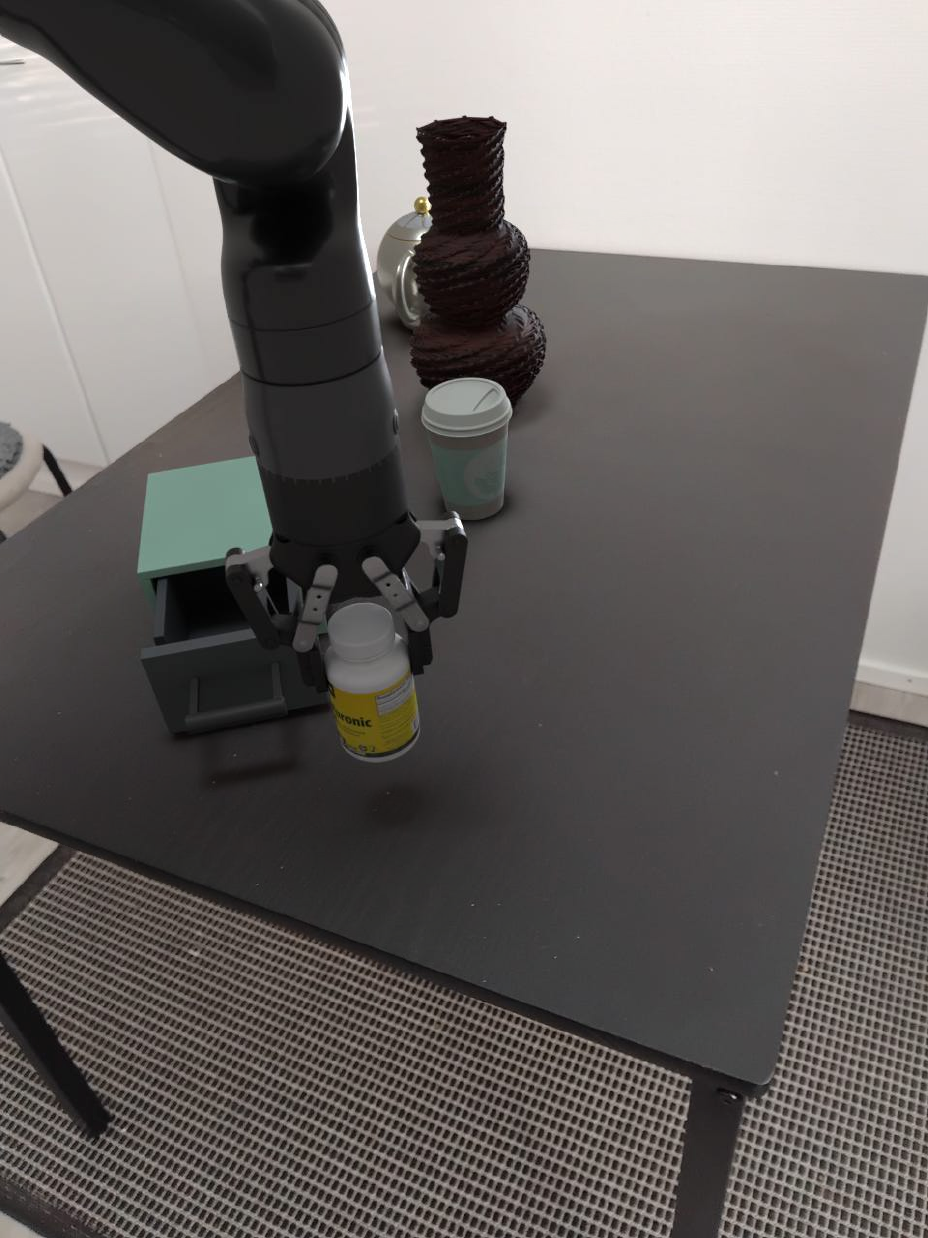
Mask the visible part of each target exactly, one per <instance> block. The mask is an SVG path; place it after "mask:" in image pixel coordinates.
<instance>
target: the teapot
mask: <svg viewBox="0 0 928 1238" xmlns="http://www.w3.org/2000/svg"><path fill="white" fill-rule="evenodd" d="M413 208H414V210H413V211H411V212H408V213H405V214H404V215H402V216H401V217H399V218H398V219H396V220H395V221H394V222H393V223H392V224H390V226H389V227H388V228H387V230H386V231H385V232H384V234H383V236H382V238H381V240H380V242H379V245H378V249H377V254H376V262H375V263H376V274H377V279H378V282H379V284H380V287H381V290H382V291H383V293H384V295H385V296H386V297H387V299H388V300H389V301H390V303H391V304H392V305H393V306H394V307H395V311H396V312H397V316H398V317H399V318H400V319H401V322H402V324H403V326H405V327H406V328H407V329H408V330H411V331H413V329H415V328H416V327H418V326H419V324H420V319H421V318H422V317H423V316H424V315H428V314H429V313H432V312H430V311H429V310H428V309H430V305H429V304H426V303H425V302H424V299H425V297H424V296H423V295H422V294H419V292H418V288H420V287H421V285H420V284H418V283H416V281H415V279H416V278H417V275H416V274H415V273H414V272H413V271H412V270H413V269H412V268H414V266H417V264H416V263H415V262H413V261H412V257H413V256H414V255H415V250H414V246H415V245H418V244H419V243H420V242H421V238H420V237H421V235H422V234H423V233H426V232H428V230H429V229H430V227H431V226H432V225H433V224H432V221H431V220H432V219H433V218H432V216H431V215H430V214H429V210H430V209H431V204H430V203H429V202H428V197H425V196H418V197H417V198H416V199H415V200H414V203H413ZM439 229H440V228H439ZM428 318H429V317H428Z"/></svg>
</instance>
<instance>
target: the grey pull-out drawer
mask: <svg viewBox="0 0 928 1238" xmlns="http://www.w3.org/2000/svg"><path fill="white" fill-rule="evenodd" d="M297 587H298V585H297V584H295V583H294V582H293V581H291V580H290V579H289V578H287V577H286V576H285V575H283V574H282V573H281V572H279V571H278V570H277V569H275V568H274V567H273V568H271V569H270V570H269V571H268V585H267V586H266V587H265V589H266V591H267V592H268V594H269V596H270V598H271V600H272V602H273V604H274V606H275V608H276V610H277V611H278V613H279V614H281V615H292V611H293V608H294V604H295V601H296V596H297ZM153 620H154V621H153V633H152V639H153V641H154V644H155V646H150V647H144V648H141V650H140V661H141V664H142V666H143V669H144V671H145V674H146V677H147V680H148V682H149V684H150V687H151V689H152V692H153V694H154V697H155V699H156V702H157V704H158V707H159V709H160V712H161V715H162V718H163V720H164V722H165V725H166V728H167V729H168V732H169V734H174V733H179V732H183V731H186V733H187V734H188V735H193V734H194V735H195V734H199V733H205V732H209V731H215V730H220V729H226V728H231V727H235V726H240V725H246V724H250V723H251V724H252V723H256V722H261V721H266V720H271V719H272V720H273V719H276V718H282V717H286V716H288V711H293V710H298V709H302V708H308V707H314V706H318V705H323V704H329V702H330V700H329V691H328V692H325V693H319V694H317V691H316V686H312V687H307V686H306V685H305V683H304V682H303V679H302V675H301V671H300V667H299V663H298V658H297V654H296V651H295V650H294V649H293V648H291V647H289V646H284V645H280V646H279V647H278V648H276V649H274V650H267V649H264V648H263V647H262V646H261V645H260V643H259V641H258V639H257V637H256V636H255V634H254V632H253V630H252V629H251V627H250V625H249V623H248V621H247V620H246V618H245V616H244V614H243V612H242V611H241V609H240V607H239V605H238V603H237V602H236V600H235V598H234V596H233V594H232V593H231V591H230V589H229V587H228V586H227V584H226V565H224V566H218V567H213V568H207V569H201V570H196V571H190V572H185V573H179V574H173V575H168V576H162V577H158V582H157V594H156V607H155V619H154V618H153Z"/></svg>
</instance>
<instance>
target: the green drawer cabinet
mask: <svg viewBox="0 0 928 1238" xmlns="http://www.w3.org/2000/svg"><path fill="white" fill-rule="evenodd" d="M145 488H146V489H145V498H144V505H143V506H144V507H143V514H142V515H143V516H142V525H141V533H140V541H139V542H140V544H139V550H138V551H139V552H138V559H137V560H138V561H137V568H136V569H137V570H136V573H137V577H138V579H139V582H140V585H141V587H142V590H143V593H144V596H145V598H146V601H147V604H148V607H149V609H150V612H151V615H152V618H153V620H154V619H155V607H156V594H157V582H158V577H162V576H168V575H173V574H179V573H185V572H190V571H196V570H201V569H207V568H213V567H218V566H224V565H226V553H227V551H228V550H230V549H231V548H235V547H238V548H242V549H244V550H245V551H246V553H247V552H250V551H253V550H256V549H259V548H262V547H265V546H268V544H269V539H270V537H271V534H272V525H271V521H270V517H269V512H268V508H267V504H266V500H265V495H264V491H263V487H262V483H261V478H260V474H259V470H258V466H257V462H256V456H255V455H251V456H247V457H246V456H245V457H240V458H234V459H227V460H221V461H216V462H210V463H204V464H198V465H192V466H187V467H186V466H185V467H181V468H174V469H168V470H162V471H157V472H150V473H147V479H146V487H145ZM327 626H328V623H327V615H326V613H325V615H324V619H323V622H322V624H321V625H319V628H318V631H317V632H318V635H322V634H328V631H327Z"/></svg>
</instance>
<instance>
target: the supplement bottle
mask: <svg viewBox="0 0 928 1238" xmlns="http://www.w3.org/2000/svg"><path fill="white" fill-rule="evenodd" d="M327 631H328V633H327V636H328V641H329V646H328V648H327V650H326V652H325V654H324V656H323V660H324V670H325V675H326V680H327V684H328V694H329V698H330V703H331V707H332V711H333V715H334V721H335V725H336V730H337V733H338V734H337V735H338V738H339V741H340V744H341V746H342V747H343V749H344V750H345V752H346V753H347V754H349V755H350V756H351V757H353V758H355V759H357V760H359V761H362V762H365V763H366V762H367V763H384V762H389V761H393V760H396V759H397V758H400V757H401V756H403V755H405V754H406V753H408V752H409V751H410V750H411V749H412V748H413V747H414V746H415V744H416V743H417V740H418V739H419V737H420V733H421V732H420V731H421V721H420V713H419V707H418V699H417V693H416V687H415V680H414V676H413V673H412V666H411V659H410V653H409V649H408V646H407V642H406V641H405V640H404V638H403V637H401V635H399V633H396V629H395V623H394V618H393V616H392V614H391V612H390V611H389V610H388V609H387V607H384V606H382V605H379V604H377V603H372V602H358V603H353V604H349V605H346V606H344V607H343V608H340V609H338V610H337V611H336V612H335V613H334V614H332V616H331V617H330V618H329V620H328V623H327Z"/></svg>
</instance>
